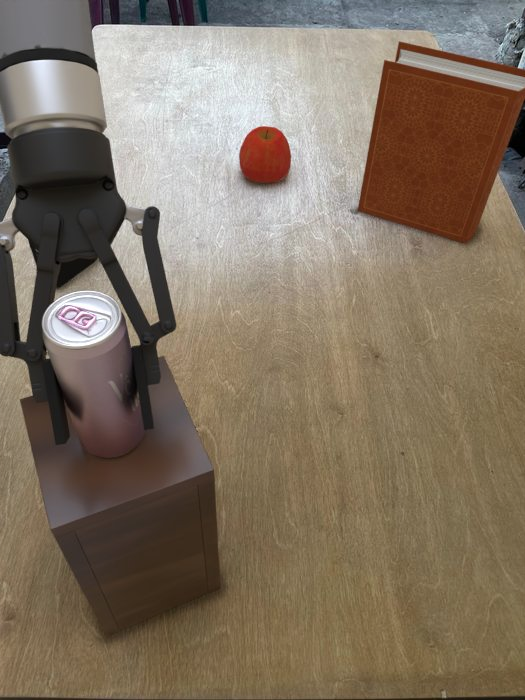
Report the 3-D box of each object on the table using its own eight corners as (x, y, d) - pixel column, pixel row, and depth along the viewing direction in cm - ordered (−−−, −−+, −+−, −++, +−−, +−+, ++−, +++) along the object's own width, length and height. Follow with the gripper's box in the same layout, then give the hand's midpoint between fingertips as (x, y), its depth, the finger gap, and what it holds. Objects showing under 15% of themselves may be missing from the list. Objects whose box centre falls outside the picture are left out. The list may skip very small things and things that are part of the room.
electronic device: (40, 279, 109) (25, 234, 101) (82, 250, 114) (71, 204, 107) (57, 289, 107) (43, 244, 100) (98, 259, 113) (89, 213, 105)
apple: (250, 195, 127) (251, 148, 119) (230, 167, 133) (230, 121, 125) (298, 184, 130) (302, 137, 122) (276, 157, 136) (278, 111, 128)
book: (357, 210, 125) (384, 60, 102) (370, 189, 130) (399, 41, 107) (470, 245, 119) (525, 93, 96) (480, 221, 124) (534, 71, 101)
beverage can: (105, 396, 58) (73, 278, 47) (159, 420, 57) (140, 304, 45) (65, 444, 55) (20, 330, 44) (122, 472, 53) (91, 360, 42)
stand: (77, 529, 79) (19, 398, 58) (182, 490, 83) (163, 355, 62) (106, 636, 71) (50, 529, 50) (220, 587, 75) (214, 469, 54)
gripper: (180, 139, 53) (219, 406, 55) (-58, 161, 50) (-7, 444, 52) (185, 111, 45) (230, 421, 47) (-94, 135, 42) (-33, 466, 44)
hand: (106, 432), depth 50 cm, fingers closed on beverage can, 6 cm apart
